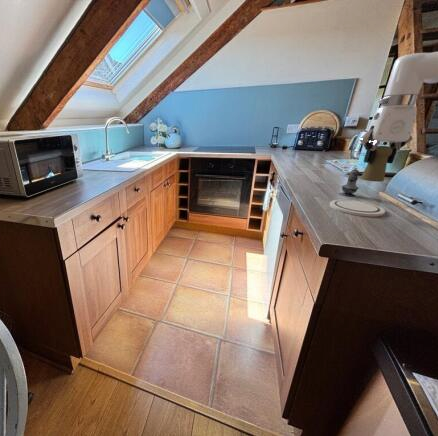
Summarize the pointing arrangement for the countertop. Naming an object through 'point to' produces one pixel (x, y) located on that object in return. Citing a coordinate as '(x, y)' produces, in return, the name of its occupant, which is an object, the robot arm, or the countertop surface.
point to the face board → (357, 208)
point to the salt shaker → (351, 184)
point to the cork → (377, 165)
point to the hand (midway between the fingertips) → (377, 162)
